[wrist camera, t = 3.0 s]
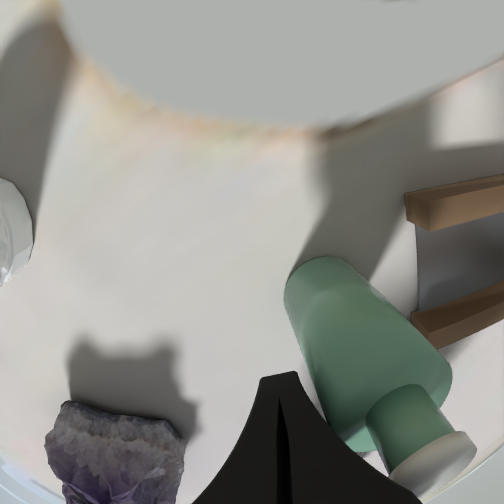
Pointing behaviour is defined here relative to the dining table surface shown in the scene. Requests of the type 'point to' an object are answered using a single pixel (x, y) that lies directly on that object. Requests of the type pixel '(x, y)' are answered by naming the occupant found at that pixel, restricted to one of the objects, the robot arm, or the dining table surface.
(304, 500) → the robot arm
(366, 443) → the bottle
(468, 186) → the cradle
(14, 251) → the white cup
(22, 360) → the dining table surface
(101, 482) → the geode
